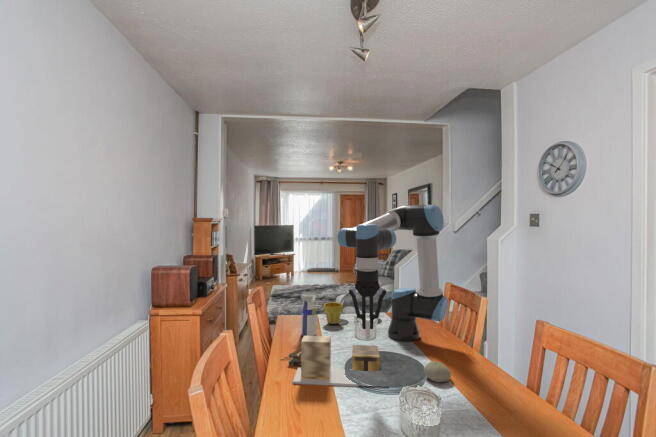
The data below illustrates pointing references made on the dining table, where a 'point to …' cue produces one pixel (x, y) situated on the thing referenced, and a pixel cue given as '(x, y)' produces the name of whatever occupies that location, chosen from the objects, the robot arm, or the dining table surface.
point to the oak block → (316, 357)
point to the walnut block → (365, 358)
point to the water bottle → (309, 314)
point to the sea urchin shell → (437, 372)
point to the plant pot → (333, 312)
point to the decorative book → (295, 357)
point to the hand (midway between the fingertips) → (367, 338)
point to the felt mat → (335, 379)
